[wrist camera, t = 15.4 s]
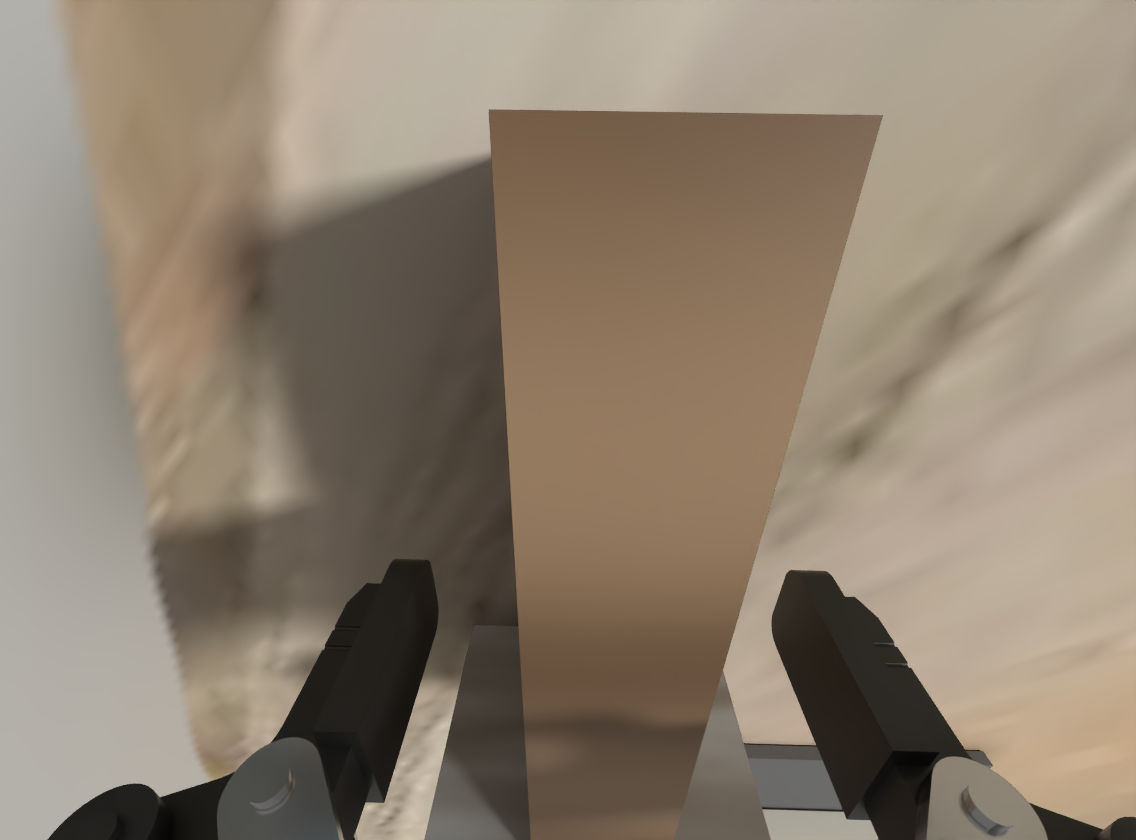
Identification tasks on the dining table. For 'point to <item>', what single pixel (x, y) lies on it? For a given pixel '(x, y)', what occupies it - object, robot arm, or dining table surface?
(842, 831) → the tile
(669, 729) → the wooden post on base
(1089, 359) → the dining table surface
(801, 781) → the mat
